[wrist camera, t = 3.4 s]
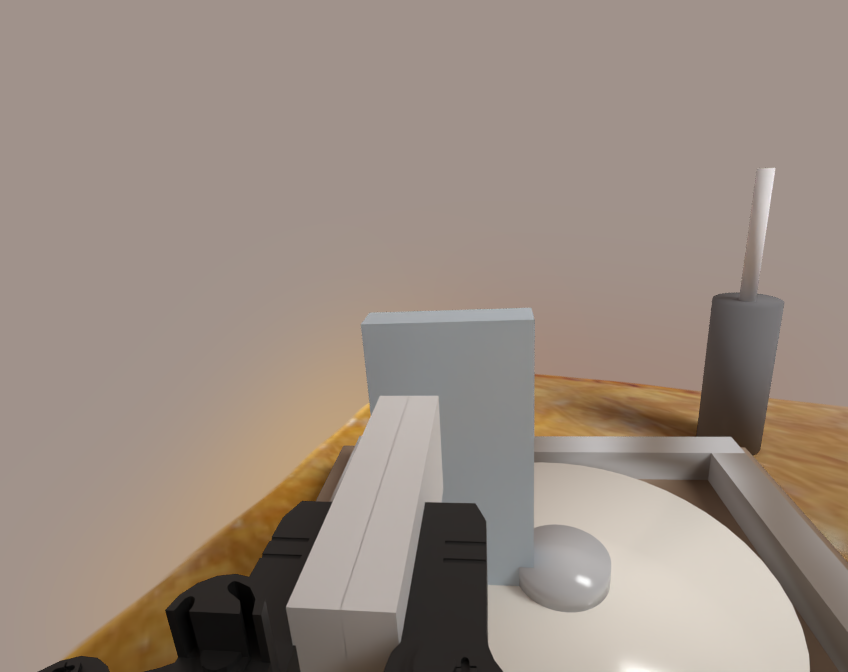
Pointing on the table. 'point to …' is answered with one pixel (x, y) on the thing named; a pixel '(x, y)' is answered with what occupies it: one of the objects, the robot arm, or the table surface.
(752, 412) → the screwdriver
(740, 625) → the dial
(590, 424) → the table surface
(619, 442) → the dial housing
